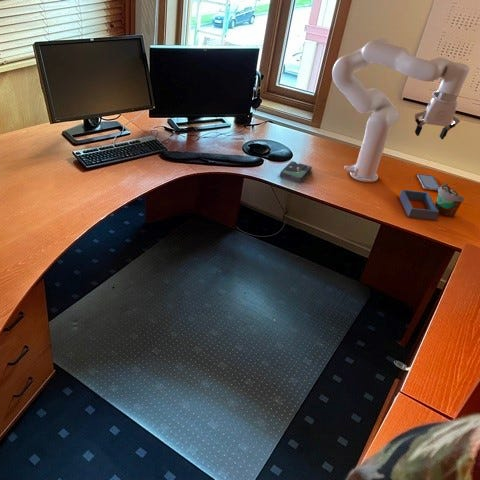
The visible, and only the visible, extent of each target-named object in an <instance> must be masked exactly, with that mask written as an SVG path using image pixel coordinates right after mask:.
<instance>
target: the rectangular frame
mask: <svg viewBox="0 0 480 480" xmlns="http://www.w3.org/2000/svg"><path fill="white" fill-rule="evenodd" d="M398 198H399V200H400V202H401V205H402V207H403V209H404V211H405V213H406V215H407V217H408V218H413V219H420V220H421V219H423V220H430V221H436V220H437V219H438V216H439V211H438V209H437V208H436V206H435V204H436V203H434V201H433V199H432V197H431V195H430V194H429V192H427V191H420V190H419V191H417V190H409V189H402V190H401V192H400V194H399V196H398ZM411 200H412V201H418V202H419V201H421V202H423V203H424V205H425V207H426V209H423V208H415V207H413V205H412V203H411Z"/></svg>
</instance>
